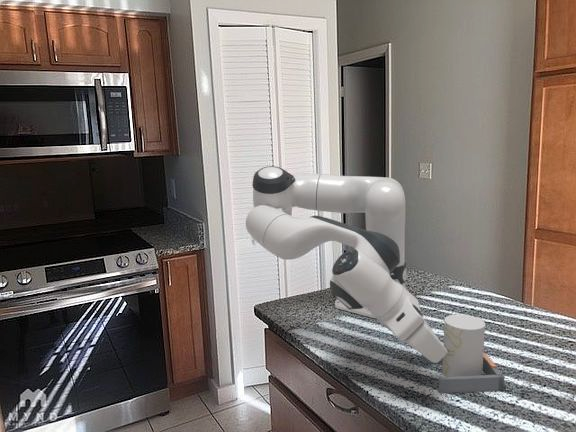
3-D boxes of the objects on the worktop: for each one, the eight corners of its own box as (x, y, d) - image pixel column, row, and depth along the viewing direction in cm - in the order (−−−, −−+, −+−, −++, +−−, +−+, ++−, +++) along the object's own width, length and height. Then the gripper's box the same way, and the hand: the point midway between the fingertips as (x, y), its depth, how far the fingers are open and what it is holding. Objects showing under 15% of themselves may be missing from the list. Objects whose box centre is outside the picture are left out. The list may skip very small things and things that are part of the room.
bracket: (440, 393, 93) (440, 377, 92) (421, 361, 106) (421, 347, 105) (503, 390, 93) (504, 374, 92) (477, 359, 106) (477, 345, 105)
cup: (437, 364, 104) (440, 314, 102) (474, 364, 104) (477, 314, 102) (448, 383, 96) (451, 329, 94) (487, 383, 96) (491, 329, 94)
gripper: (377, 302, 107) (418, 339, 109) (398, 341, 87) (448, 386, 89) (396, 283, 106) (437, 321, 108) (422, 318, 86) (472, 364, 88)
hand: (442, 351), depth 98 cm, fingers closed
